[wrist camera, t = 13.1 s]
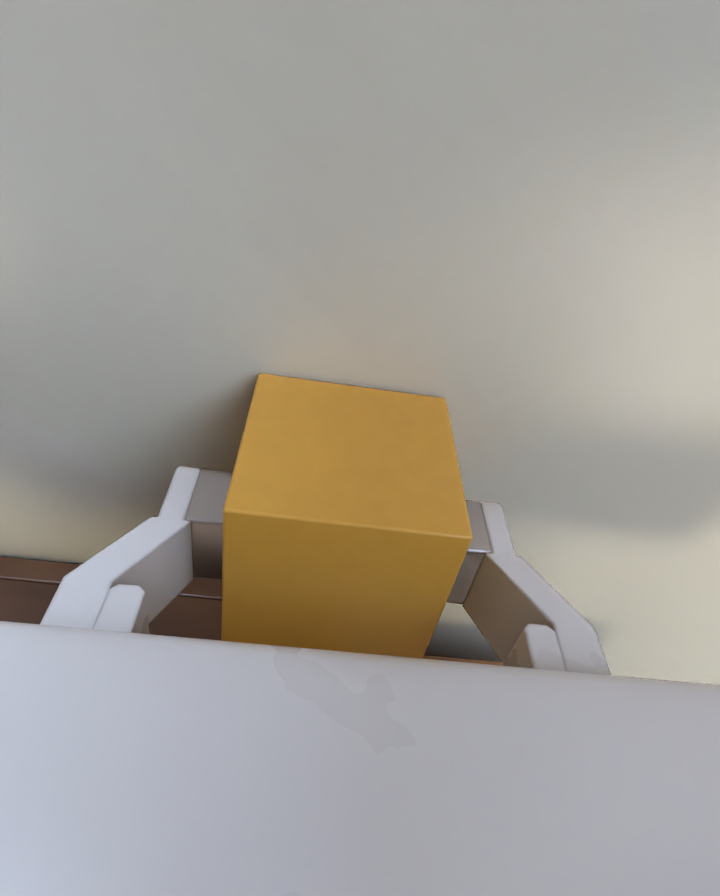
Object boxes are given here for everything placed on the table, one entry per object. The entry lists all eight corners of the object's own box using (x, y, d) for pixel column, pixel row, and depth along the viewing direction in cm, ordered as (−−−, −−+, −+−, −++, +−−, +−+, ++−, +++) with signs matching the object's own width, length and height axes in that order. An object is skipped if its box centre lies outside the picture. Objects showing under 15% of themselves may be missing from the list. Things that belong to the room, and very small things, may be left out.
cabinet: (340, 589, 18) (328, 940, 12) (298, 778, 27) (278, 1036, 21) (-195, 535, 17) (-557, 904, 10) (-51, 755, 26) (-193, 1025, 19)
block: (446, 397, 14) (474, 538, 10) (407, 524, 16) (419, 669, 13) (258, 372, 13) (222, 510, 10) (250, 507, 16) (221, 651, 13)
